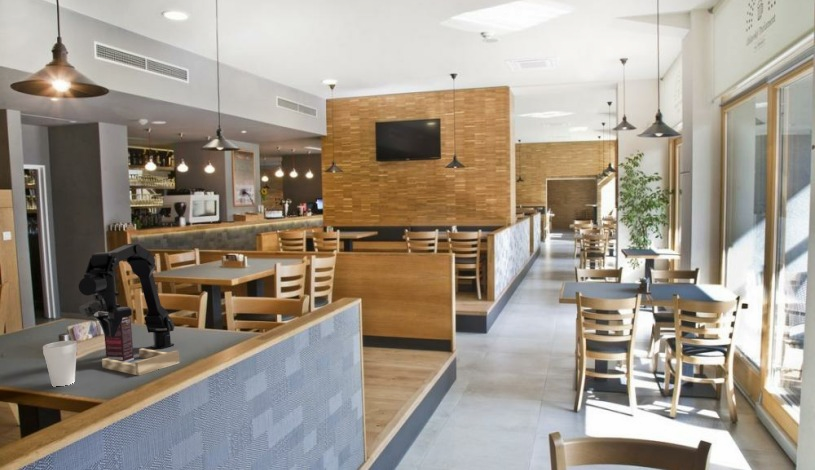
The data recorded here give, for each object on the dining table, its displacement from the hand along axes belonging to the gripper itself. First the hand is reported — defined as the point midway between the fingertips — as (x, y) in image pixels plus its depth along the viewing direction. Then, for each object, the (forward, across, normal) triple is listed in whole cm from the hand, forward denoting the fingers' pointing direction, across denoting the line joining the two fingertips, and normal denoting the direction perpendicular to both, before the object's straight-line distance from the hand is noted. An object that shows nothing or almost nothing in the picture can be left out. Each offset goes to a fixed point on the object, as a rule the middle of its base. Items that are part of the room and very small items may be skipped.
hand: (109, 336), depth 192 cm
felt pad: (+13, -1, +11) cm, 17 cm away
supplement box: (+13, -14, +11) cm, 22 cm away
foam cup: (+13, -6, -13) cm, 19 cm away
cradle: (+13, -2, +11) cm, 17 cm away
